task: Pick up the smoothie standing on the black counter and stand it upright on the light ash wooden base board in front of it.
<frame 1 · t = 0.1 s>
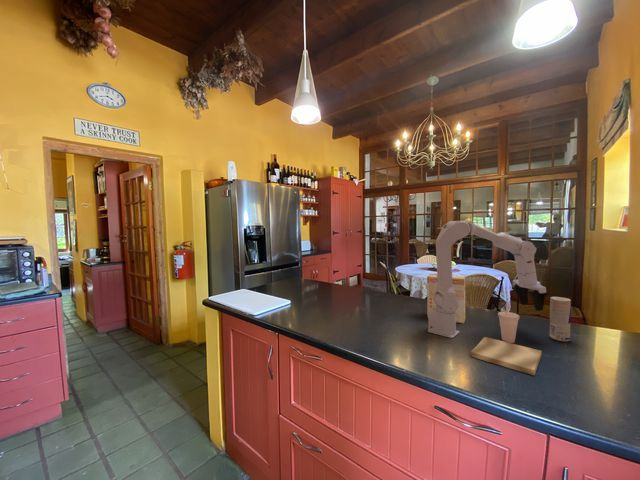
hand: (531, 307, 101), 11 cm above the worktop, tool pointing down, fingers open, 7 cm apart
base board: (506, 355, 85), on the worktop
smoothie: (508, 341, 97), on the worktop
coffeecake box: (446, 318, 121), on the worktop
beverage can: (559, 339, 97), on the worktop
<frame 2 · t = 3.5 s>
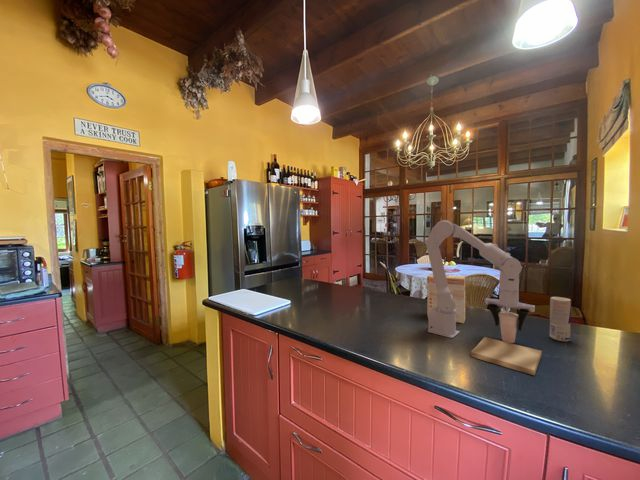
hand: (508, 327, 96), 5 cm above the worktop, tool pointing down, fingers closed on smoothie, 6 cm apart
smoothie: (508, 341, 97), on the worktop, touching gripper
everything else where it was.
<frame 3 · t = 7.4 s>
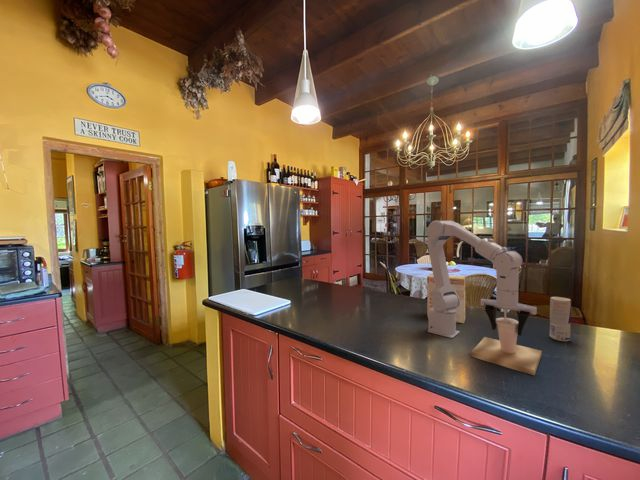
hand: (506, 331, 85), 8 cm above the worktop, tool pointing down, fingers closed on smoothie, 6 cm apart
smoothie: (508, 350, 86), point 1 cm above the worktop, touching base board, gripper
everything else where it was.
when the fingers open (8 cm above the worktop, at t = 8.2 s): smoothie stays where it is, resting on base board.
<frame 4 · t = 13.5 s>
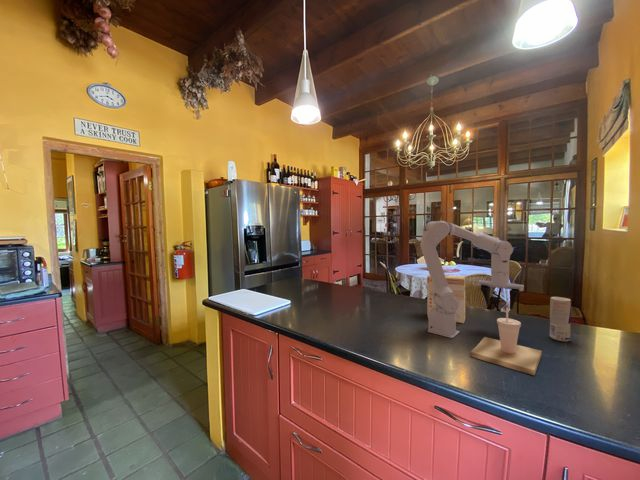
hand: (499, 306, 103), 10 cm above the worktop, tool pointing down, fingers open, 7 cm apart
smoothie: (508, 351, 86), point 1 cm above the worktop, touching base board
everything else where it was.
at the end: smoothie inside the target area on the base board (1.0 cm from its centre), point 1.3 cm above the base board's base; smoothie tilted 0°; the gripper is holding nothing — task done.
